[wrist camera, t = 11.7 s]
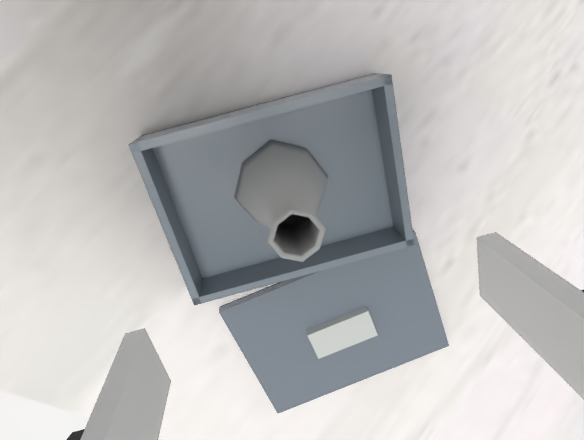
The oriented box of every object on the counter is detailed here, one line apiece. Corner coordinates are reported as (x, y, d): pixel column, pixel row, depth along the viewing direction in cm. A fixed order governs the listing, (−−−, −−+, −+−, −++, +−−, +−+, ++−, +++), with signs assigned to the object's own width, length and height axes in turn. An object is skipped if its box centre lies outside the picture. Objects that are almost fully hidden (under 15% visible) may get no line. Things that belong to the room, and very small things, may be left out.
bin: (141, 135, 29) (128, 144, 26) (375, 73, 30) (391, 74, 26) (198, 282, 34) (194, 305, 31) (398, 228, 35) (414, 245, 31)
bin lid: (219, 307, 36) (218, 317, 34) (411, 228, 35) (418, 235, 33) (277, 407, 41) (278, 420, 39) (445, 340, 40) (452, 351, 39)
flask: (218, 200, 31) (208, 257, 22) (266, 122, 29) (277, 148, 20) (293, 242, 33) (313, 310, 24) (343, 171, 32) (384, 215, 22)
